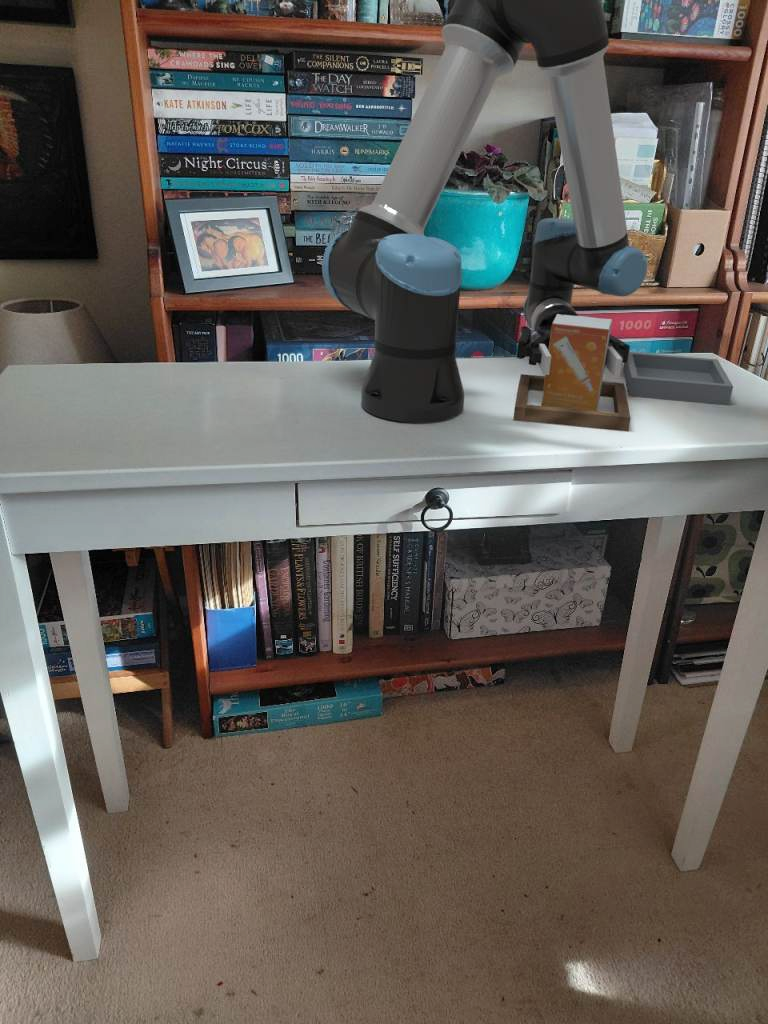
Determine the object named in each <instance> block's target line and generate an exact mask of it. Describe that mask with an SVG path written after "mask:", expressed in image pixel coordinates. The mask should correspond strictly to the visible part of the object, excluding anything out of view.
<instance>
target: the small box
mask: <svg viewBox="0 0 768 1024" xmlns="http://www.w3.org/2000/svg"><path fill="white" fill-rule="evenodd" d="M612 325H613V319H611V318H599V317H593V316H592V317H591V316H585V315H578V316H570V315H561V314H557V315H556V317H555V319H554V321H553V323H552V329H551V336H550V343H549V353H550V355H551V363H550V371H549V375H544V376H545V380H544V389H543V391H542V397H541V405H540V406H548V407H558V408H569V409H579V410H590V411H598V407H599V406H598V405H599V402H600V392H601V386H602V381H604V380H603V379H604V373H605V367H606V366H605V361H606V355H607V349H608V343H609V336H610V335H611V329H612Z"/></svg>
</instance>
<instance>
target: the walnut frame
mask: <svg viewBox="0 0 768 1024" xmlns="http://www.w3.org/2000/svg"><path fill="white" fill-rule="evenodd" d="M544 380H545V375H544V376H543V375H533V374H524V373H523V374H522V373H520V375H519V381H518V387H517V392H516V398H515V403H514V409H513V411H514V412H513V417H512V418H513V421H519V422H520V421H521V422H527V423H529V422H530V423H539V424H548V425H549V424H551V425H560V426H569V427H580V428H590V429H600V430H601V429H602V430H609V431H610V430H611V431H621V432H629V430H630V423H631V412H630V408H629V401H628V397H627V396H628V395H627V391H626V386H625V383H624V382H614V381H604V380H602V386H601V392H600V397H602V398H612V404H613V409H614V412H609V411H600V410H599V411H598V410H597V411H590V410H579V409H569V408H558V407H548V406H541V405H535V404H527V402H528V394H529V391H537V392H543V389H544Z"/></svg>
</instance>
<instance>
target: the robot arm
mask: <svg viewBox="0 0 768 1024" xmlns="http://www.w3.org/2000/svg"><path fill="white" fill-rule="evenodd" d="M443 7H444V8H445V14H444V18H445V23H444V24H443V27H442V29H441V36H442V40H443V43H444V50H443V52H442V55H441V57H440V59H439V60H438V64H437V65H436V67H435V69H434V71H433V74H432V75H431V78H430V80H429V82H428V84H427V87H426V88H425V90H424V93H423V95H422V96H421V97H422V98H421V99H420V101H419V103H418V105H417V108H416V110H415V112H414V114H413V116H412V119H411V121H410V122H409V125H408V128H407V129H406V131H405V133H404V135H403V138H402V140H401V141H400V143H399V144H400V145H399V146H398V149H397V151H396V152H395V155H394V157H393V159H392V160H391V163H390V166H389V168H388V169H387V172H386V174H385V176H384V178H383V180H382V183H381V185H380V187H379V188H378V192H377V193H376V195H375V197H374V199H373V201H372V203H371V204H368V205H366V206H363V207H360V208H359V209H358V210H357V212H356V214H355V216H354V218H353V220H352V221H351V222H352V223H351V225H350V226H349V228H348V229H345V230H342V231H341V232H339V233H338V234H336V235H335V236H334V237H333V238H332V239H331V240H330V242H328V244H327V246H326V248H325V251H324V253H323V257H322V262H321V272H322V277H323V278H322V279H323V281H324V284H325V287H326V289H327V291H328V292H329V294H330V295H331V296H332V297H333V299H335V300H336V301H337V302H339V303H340V304H341V305H342V306H343V307H344V308H346V309H348V310H349V311H352V312H354V313H358V314H360V315H362V316H364V317H367V318H369V319H371V320H373V321H374V351H373V352H374V353H373V356H372V359H371V362H370V365H369V368H368V370H367V372H366V376H365V378H364V381H363V383H362V387H361V394H360V395H361V397H360V398H361V401H360V403H361V407H362V408H363V410H365V412H367V413H370V414H371V415H373V416H376V417H378V418H381V419H386V420H388V421H389V420H390V421H395V422H403V423H434V422H441V421H447V420H449V419H452V418H454V417H457V416H459V415H460V414H461V413H462V412H463V411H464V404H465V390H464V386H463V384H462V383H463V381H462V380H461V375H460V371H459V366H458V362H457V357H456V349H457V348H456V347H457V335H458V323H459V310H460V309H459V308H460V307H459V306H460V297H461V296H460V295H461V286H462V283H463V274H462V256H461V253H460V251H459V250H458V248H457V247H455V246H454V245H453V244H451V243H450V242H448V241H446V240H443V239H441V238H437V237H434V236H426V235H425V234H424V232H425V231H424V230H425V228H426V226H427V223H428V221H429V219H430V217H431V215H432V213H433V211H434V209H435V207H436V205H437V203H438V201H439V199H440V198H441V197H440V196H441V195H442V192H443V191H444V188H445V186H446V184H447V183H448V180H449V178H450V176H451V174H452V172H453V170H454V167H455V166H456V164H457V161H458V159H459V157H460V156H461V153H462V151H463V149H464V147H465V145H466V143H467V141H468V139H469V136H470V135H471V132H472V130H473V128H474V127H475V124H476V122H477V121H478V118H479V116H480V114H481V112H482V109H484V105H485V104H486V101H487V100H488V98H489V95H490V94H491V92H492V89H493V87H494V85H495V83H496V81H497V79H498V78H500V77H502V76H504V75H508V74H510V73H511V72H513V70H514V67H515V66H516V63H517V62H518V60H519V58H520V56H521V53H522V52H523V50H524V47H525V45H526V44H530V45H531V46H532V48H533V49H534V53H535V58H536V63H537V67H538V69H539V70H541V71H542V72H544V73H545V74H546V76H547V80H548V81H547V82H548V86H549V91H550V92H549V93H550V95H551V96H550V97H551V101H552V108H553V113H554V120H555V124H556V130H557V135H558V140H559V147H560V151H561V157H562V163H563V164H562V165H563V168H564V174H565V175H564V176H565V180H566V185H567V190H568V191H567V192H568V196H569V201H570V206H571V207H570V209H571V213H572V217H573V219H571V218H565V217H564V218H562V217H561V218H560V217H559V218H558V217H550V218H549V217H547V218H543V219H540V221H539V222H538V223H537V224H536V228H535V236H534V241H533V242H532V243H533V244H532V246H533V248H532V259H531V271H530V280H529V281H530V282H529V285H528V294H527V296H526V298H525V299H524V304H523V315H524V318H525V321H526V323H527V325H528V326H526V325H523V326H520V333H519V334H520V335H519V339H518V342H517V349H516V359H519V360H521V359H525V357H528V365H530V366H537V364H538V366H539V368H540V370H541V372H542V374H543V375H544V376H545V375H549V371H550V363H551V355H550V353H549V343H550V336H551V329H552V323H553V321H554V319H555V317H556V315H557V314H561V315H570V316H579V315H578V313H577V312H576V311H575V309H574V307H572V299H573V298H572V297H573V293H574V292H573V291H574V288H575V287H574V286H575V285H577V286H579V287H583V288H587V289H589V290H592V291H595V292H596V291H597V292H600V294H603V295H609V296H613V297H614V296H615V297H627V296H630V295H632V294H634V293H635V292H636V291H637V290H638V289H640V287H641V286H642V284H643V283H644V281H645V278H646V275H647V273H648V272H647V270H648V260H647V258H646V256H645V254H644V253H643V251H641V250H640V249H638V248H636V247H635V246H633V245H630V242H629V235H628V229H627V221H626V220H627V219H626V212H625V206H624V200H623V193H622V186H621V177H620V170H619V164H618V156H617V149H616V141H615V134H614V126H613V120H612V112H611V106H610V105H611V104H610V99H609V91H608V90H609V89H608V84H607V76H606V69H605V62H604V56H605V53H606V52H607V50H608V49H609V47H610V39H609V32H608V26H607V21H606V16H605V10H604V6H603V4H602V0H444V3H443ZM630 349H631V345H630V344H628V343H625V342H624V341H622V340H620V339H619V338H618V337H615V336H613V335H612V334H610V336H609V343H608V349H607V355H606V361H605V367H606V369H608V371H609V373H610V374H611V375H612V377H613V378H620V377H621V371H622V367H623V364H624V363H626V362H627V361H628V355H629V352H630Z"/></svg>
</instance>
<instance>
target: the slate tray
mask: <svg viewBox="0 0 768 1024" xmlns="http://www.w3.org/2000/svg"><path fill="white" fill-rule="evenodd" d="M622 370H623V375H624V380H625V385H626V386H625V387H626V389H627V391H626V392H627V394H628V395H627V396H628V397H632V398H633V397H635V398H647V399H656V400H657V399H658V400H667V401H678V402H688V403H689V402H690V403H701V404H712V405H713V404H714V405H724V406H730V402H731V397H732V394H733V393H732V392H733V389H734V385H733V384H732V382H731V380H730V378H729V377H728V375H727V373H726V371H725V370H724V368H723V365H722V364H721V363H720V361H719V359H716V358H704V357H693V356H681V355H669V354H660V353H659V354H656V353H645V352H631V351H629V355H628V361H627V362H626V363H623V365H622Z"/></svg>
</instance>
